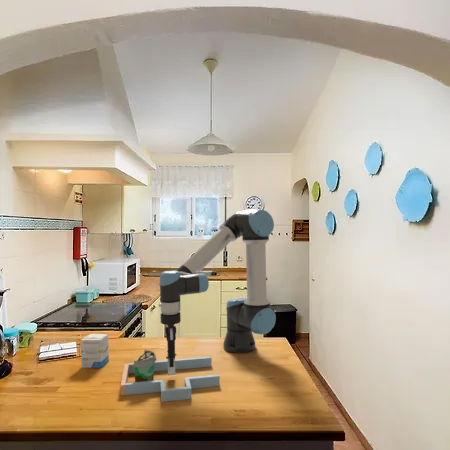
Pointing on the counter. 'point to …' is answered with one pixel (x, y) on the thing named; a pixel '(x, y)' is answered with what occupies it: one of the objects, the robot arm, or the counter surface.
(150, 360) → the food container
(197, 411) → the counter surface
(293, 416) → the counter surface
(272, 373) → the counter surface
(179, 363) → the channel
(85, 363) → the ink box
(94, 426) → the counter surface
